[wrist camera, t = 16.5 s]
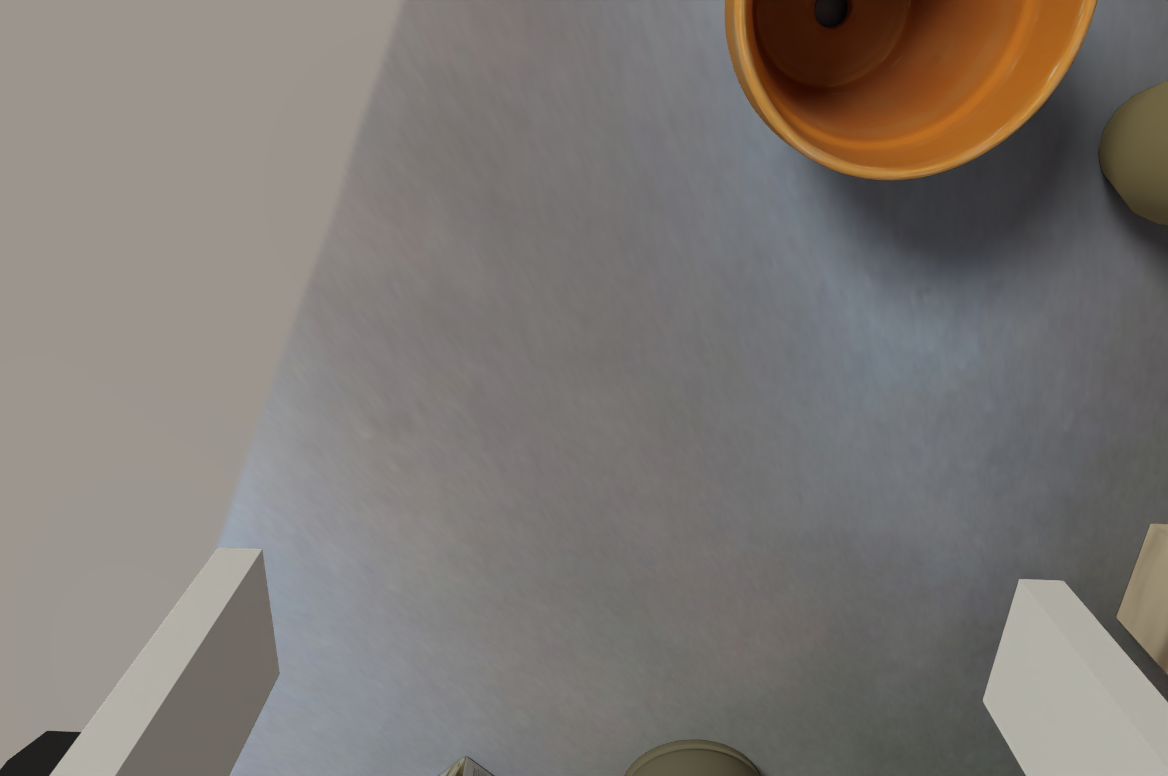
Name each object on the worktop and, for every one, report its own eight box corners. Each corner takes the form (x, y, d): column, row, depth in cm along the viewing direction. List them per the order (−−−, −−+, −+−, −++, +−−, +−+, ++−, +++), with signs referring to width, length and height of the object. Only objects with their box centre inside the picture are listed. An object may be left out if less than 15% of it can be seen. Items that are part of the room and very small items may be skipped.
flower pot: (1013, -101, 42) (1182, -156, 30) (897, 173, 47) (1000, 220, 35) (751, -189, 40) (816, -284, 28) (663, 103, 46) (687, 127, 34)
